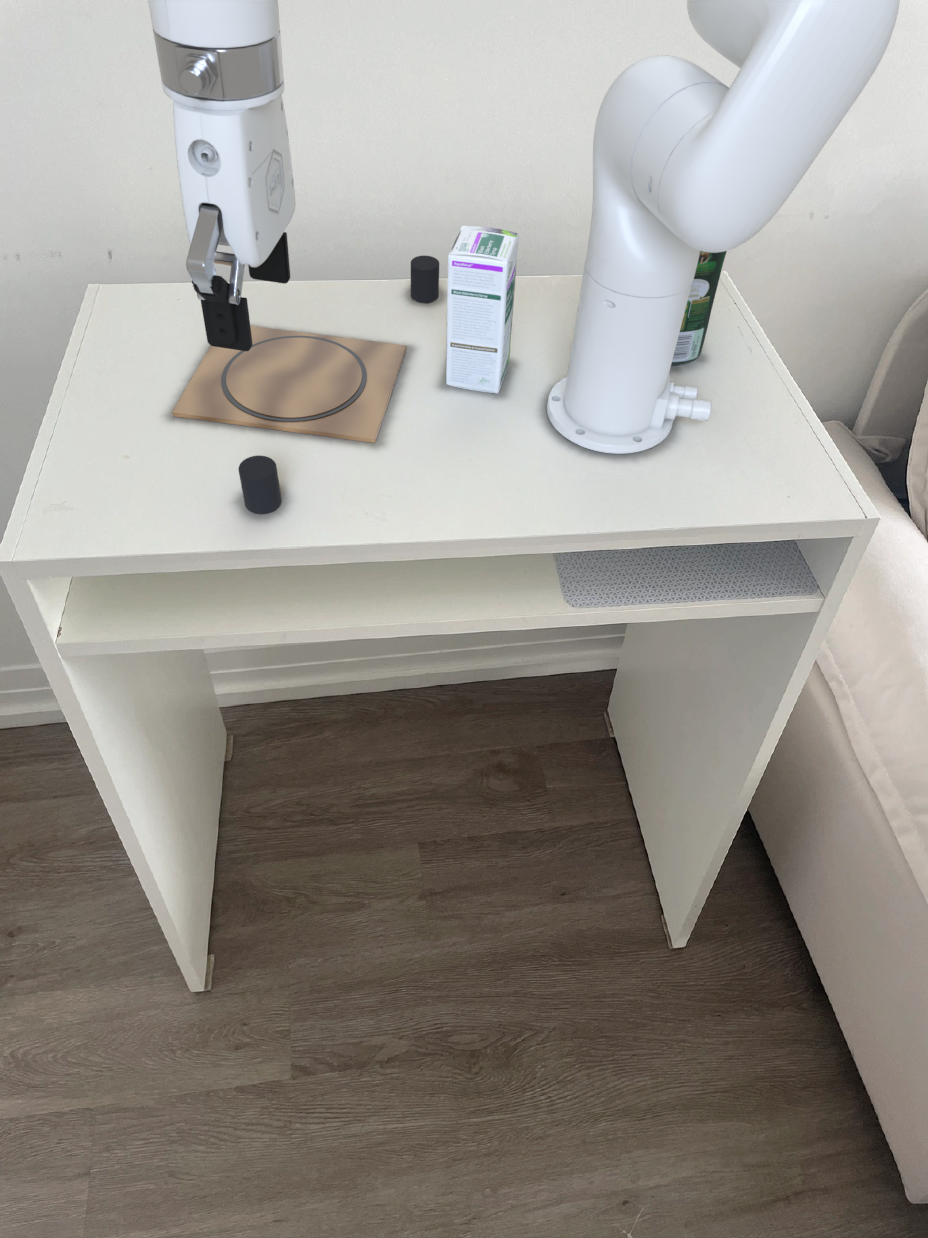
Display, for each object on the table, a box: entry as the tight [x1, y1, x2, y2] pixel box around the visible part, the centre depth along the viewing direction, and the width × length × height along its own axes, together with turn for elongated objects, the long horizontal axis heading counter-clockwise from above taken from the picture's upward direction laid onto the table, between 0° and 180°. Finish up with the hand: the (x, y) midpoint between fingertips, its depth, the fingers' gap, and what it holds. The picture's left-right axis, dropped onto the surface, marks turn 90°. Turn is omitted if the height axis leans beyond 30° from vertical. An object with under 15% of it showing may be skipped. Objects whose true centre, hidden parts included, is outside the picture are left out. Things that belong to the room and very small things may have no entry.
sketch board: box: [171, 325, 407, 444], centre depth 92 cm, size 20×16×1 cm
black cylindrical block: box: [238, 455, 282, 515], centre depth 79 cm, size 3×3×4 cm
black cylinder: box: [410, 255, 440, 304], centre depth 102 cm, size 3×3×4 cm
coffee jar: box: [671, 251, 728, 366], centre depth 93 cm, size 10×8×19 cm
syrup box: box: [445, 224, 519, 394], centre depth 89 cm, size 6×6×14 cm
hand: (251, 311), depth 69 cm, fingers open, 9 cm apart
